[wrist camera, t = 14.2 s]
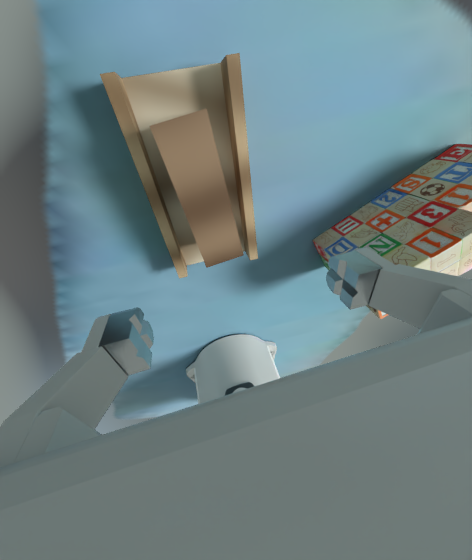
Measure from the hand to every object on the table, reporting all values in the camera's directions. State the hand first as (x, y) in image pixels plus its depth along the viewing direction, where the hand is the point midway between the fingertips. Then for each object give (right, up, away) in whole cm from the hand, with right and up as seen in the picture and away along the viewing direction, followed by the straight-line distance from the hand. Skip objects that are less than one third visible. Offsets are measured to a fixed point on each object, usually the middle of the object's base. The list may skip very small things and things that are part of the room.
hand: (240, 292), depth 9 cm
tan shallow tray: (-4, +11, +14) cm, 18 cm away
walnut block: (-4, +10, +13) cm, 18 cm away
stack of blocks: (+21, +11, +22) cm, 32 cm away
